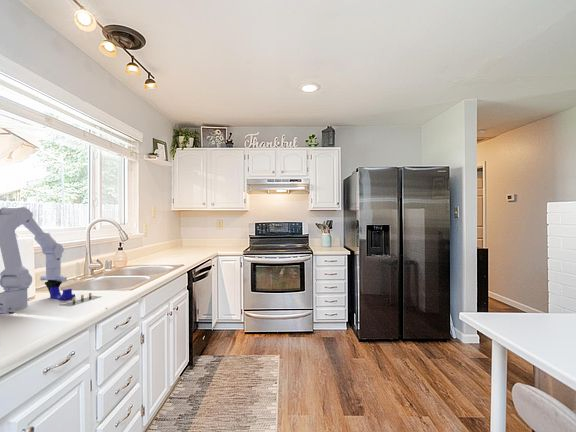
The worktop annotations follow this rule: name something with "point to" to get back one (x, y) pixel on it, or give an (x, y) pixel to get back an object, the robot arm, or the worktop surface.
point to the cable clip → (57, 295)
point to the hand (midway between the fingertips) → (53, 295)
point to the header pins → (82, 297)
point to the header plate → (80, 301)
